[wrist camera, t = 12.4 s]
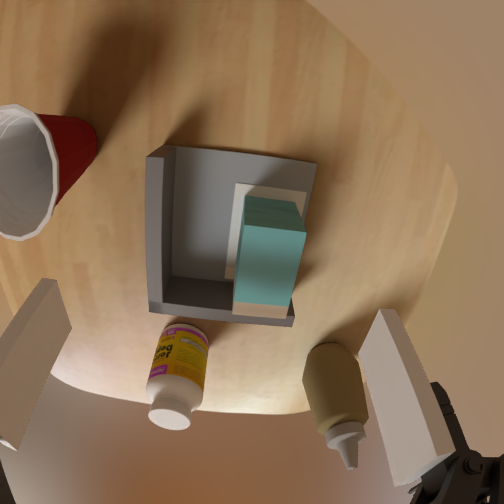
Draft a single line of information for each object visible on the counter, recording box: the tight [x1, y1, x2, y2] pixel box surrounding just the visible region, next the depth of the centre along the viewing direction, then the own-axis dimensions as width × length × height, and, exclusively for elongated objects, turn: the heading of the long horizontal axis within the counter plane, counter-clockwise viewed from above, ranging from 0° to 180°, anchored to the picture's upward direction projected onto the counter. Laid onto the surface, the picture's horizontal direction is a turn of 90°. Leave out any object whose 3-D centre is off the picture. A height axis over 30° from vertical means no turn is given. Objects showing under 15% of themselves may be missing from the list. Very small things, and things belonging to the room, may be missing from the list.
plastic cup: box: [0, 104, 98, 241], centre depth 22 cm, size 11×11×12 cm
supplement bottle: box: [146, 324, 209, 430], centre depth 35 cm, size 7×7×13 cm
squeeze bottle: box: [302, 343, 369, 470], centre depth 35 cm, size 8×8×18 cm
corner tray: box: [145, 145, 317, 327], centre depth 30 cm, size 16×15×5 cm
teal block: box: [232, 196, 307, 319], centre depth 30 cm, size 9×5×7 cm, turn 172°
